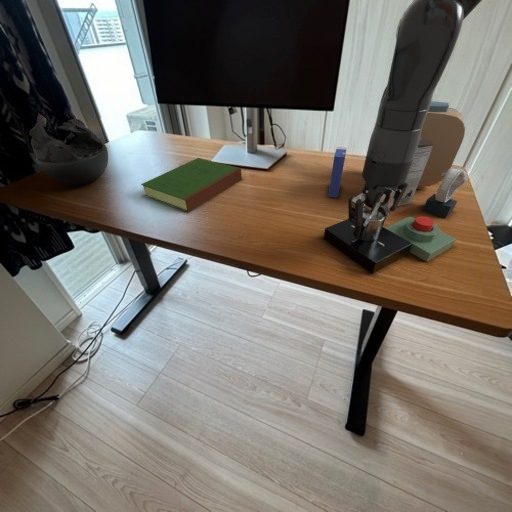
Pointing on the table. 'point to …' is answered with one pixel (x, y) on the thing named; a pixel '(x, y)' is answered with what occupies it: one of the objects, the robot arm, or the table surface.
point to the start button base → (422, 239)
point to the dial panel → (367, 246)
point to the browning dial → (373, 226)
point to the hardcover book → (192, 183)
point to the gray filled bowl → (70, 153)
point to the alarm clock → (441, 141)
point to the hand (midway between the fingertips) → (367, 233)
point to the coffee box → (416, 170)
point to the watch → (446, 193)
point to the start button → (423, 224)
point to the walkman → (337, 171)
